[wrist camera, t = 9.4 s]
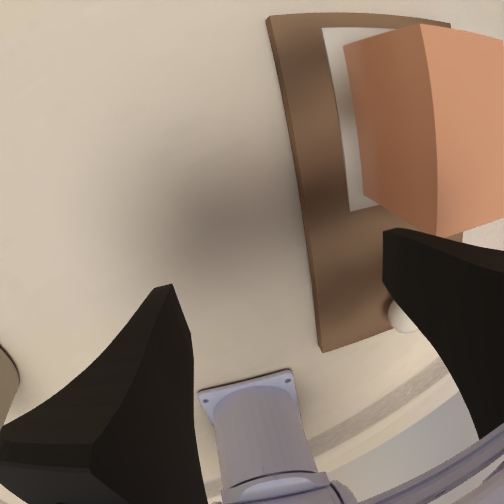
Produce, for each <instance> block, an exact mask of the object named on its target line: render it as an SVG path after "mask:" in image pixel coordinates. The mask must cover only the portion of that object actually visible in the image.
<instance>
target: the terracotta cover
mask: <svg viewBox="0 0 504 504" xmlns="http://www.w3.org/2000/svg"><path fill="white" fill-rule="evenodd" d="M343 51H344V56H345V61H346V66H347V71H348V77H349V82H350V88H351V94H352V100H353V107H354V113H355V120H356V128H357V135H358V143H359V152H360V161H361V171H362V182H363V194H364V196H366V197H368V198H369V199H371V200H373V201H374V202H376V203H378V204H379V205H381V206H383V207H384V208H386V209H388V210H389V211H391V212H392V213H394V214H396V215H397V216H399V217H400V218H402V219H404V220H405V221H407V222H408V223H410V224H411V225H413V226H414V227H416V228H417V229H419V230H421V231H422V232H424V233H427V234H431V235H435V236H438V237H442V238H445V237H449V236H452V235H454V234H457V233H460V232H463V231H466V230H469V229H472V228H475V227H478V226H481V225H484V224H487V223H489V222H492V221H495V220H498V219H501V218H504V46H503V41H502V40H499V39H495V38H491V37H488V36H484V35H479V34H475V33H471V32H466V31H461V30H456V29H451V28H446V27H440V26H434V25H427V24H416V25H411V26H407V27H403V28H400V29H396V30H392V31H389V32H385V33H381V34H378V35H375V36H371V37H368V38H365V39H362V40H359V41H356V42H352V43H349V44H347V45H344V46H343Z"/></svg>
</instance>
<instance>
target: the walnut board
mask: <svg viewBox="0 0 504 504" xmlns="http://www.w3.org/2000/svg"><path fill="white" fill-rule="evenodd" d="M416 24H427V25H434V26H440V27H446V28H451V25H450V23H445V22H440V21H434V20H427V19H421V18H413V17H405V16H395V15H384V14H369V13H302V14H286V15H274V16H269V17H268V18H267V19H266V25H267V29H268V33H269V37H270V42H271V46H272V51H273V55H274V60H275V65H276V69H277V74H278V79H279V84H280V89H281V93H282V98H283V104H284V109H285V114H286V119H287V125H288V130H289V135H290V141H291V147H292V152H293V158H294V164H295V170H296V176H297V182H298V188H299V195H300V201H301V208H302V214H303V221H304V228H305V235H306V242H307V250H308V257H309V265H310V273H311V281H312V289H313V298H314V307H315V316H316V325H317V335H318V345H319V347H320V349H321V351H322V353H325V352H328V351H331V350H334V349H337V348H340V347H343V346H346V345H349V344H352V343H355V342H358V341H360V340H363V339H366V338H369V337H372V336H374V335H377V334H380V333H382V332H385V331H387V330H390V329H393V327H392V326H391V324H390V322H389V319H388V310H389V306H390V304H391V302H392V301H393V300H394V299H393V298H392V296H391V295H390V293H389V292H388V290H387V288H386V287H385V285H384V284H383V282H382V268H383V231H386V230H390V229H393V228H405V229H411V230H415V231H419V232H422V231H421V230H419V229H417V228H416V227H414V226H413V225H411V224H410V223H408V222H407V221H405V220H404V219H402V218H400V217H399V216H397V215H396V214H394V213H392V212H391V211H389V210H388V209H386V208H384V207H383V206H381V205H379V204H378V203H376V202H374V201H373V200H371V199H369V198H368V197H366V196H364V194H363V182H362V171H361V161H360V152H359V143H358V135H357V128H356V120H355V113H354V107H353V100H352V94H351V88H350V82H349V77H348V71H347V66H346V61H345V56H344V51H343V46H344V45H347V44H349V43H352V42H356V41H359V40H362V39H365V38H368V37H371V36H375V35H378V34H381V33H385V32H389V31H392V30H396V29H400V28H403V27H407V26H411V25H416ZM423 233H424V232H423ZM445 238H446V239H450V240H453V241H457V242H461V243H462V238H463V232H460V233H457V234H454V235H452V236H449V237H445Z"/></svg>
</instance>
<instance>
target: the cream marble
mask: <svg viewBox="0 0 504 504" xmlns="http://www.w3.org/2000/svg"><path fill="white" fill-rule="evenodd" d="M388 319H389V322H390V324H391V326H392V327H393V328H394V329H395V330H396V331H398V332H400V333H412V332H415V331H416V330H418V328H417V327H416V325H415V324H414V323H413V322H412V321H411V320H410V318H409V317H408V316H407V315H406V314H405V313H404V312H403V310H402V309H401V308H400V307H399V306H398V305H397V303H396V302H395V301H394V300H393V301H392V302H391V304H390V306H389V310H388Z"/></svg>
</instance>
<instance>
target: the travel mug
mask: <svg viewBox="0 0 504 504" xmlns="http://www.w3.org/2000/svg"><path fill="white" fill-rule="evenodd" d="M18 386H19V376H18V373H17V371H16V369H15V367H14V365H13V363H12V362H11V360H10V359H9V358H8V356H7V355H6V354H5V353H4V352H3V351H2V350H1V349H0V431H1V428H2V426H3V424H4V422H5V419H6V416H7V414H8V411H9V408H10V406H11V403H12V401H13V398H14V396H15V394H16V391H17V389H18Z"/></svg>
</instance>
